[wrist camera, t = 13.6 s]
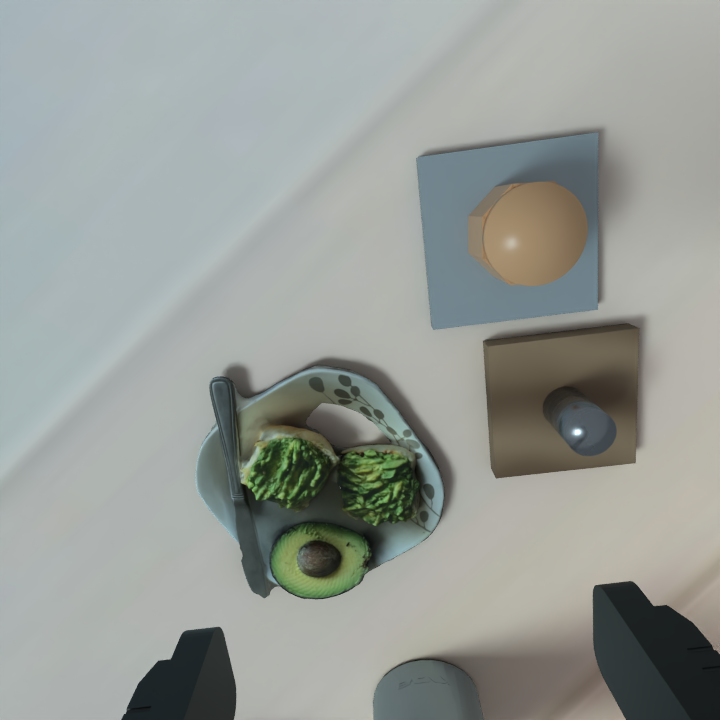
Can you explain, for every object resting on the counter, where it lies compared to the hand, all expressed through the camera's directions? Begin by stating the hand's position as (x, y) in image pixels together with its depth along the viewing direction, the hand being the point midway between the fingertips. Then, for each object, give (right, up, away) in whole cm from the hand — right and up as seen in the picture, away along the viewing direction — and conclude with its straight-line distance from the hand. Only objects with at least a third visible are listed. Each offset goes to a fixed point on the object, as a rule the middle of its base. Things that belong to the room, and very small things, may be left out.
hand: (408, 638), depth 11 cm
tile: (+9, +14, +23) cm, 28 cm away
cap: (+9, +14, +22) cm, 27 cm away
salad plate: (-4, -4, +29) cm, 29 cm away
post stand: (+13, +3, +26) cm, 29 cm away
